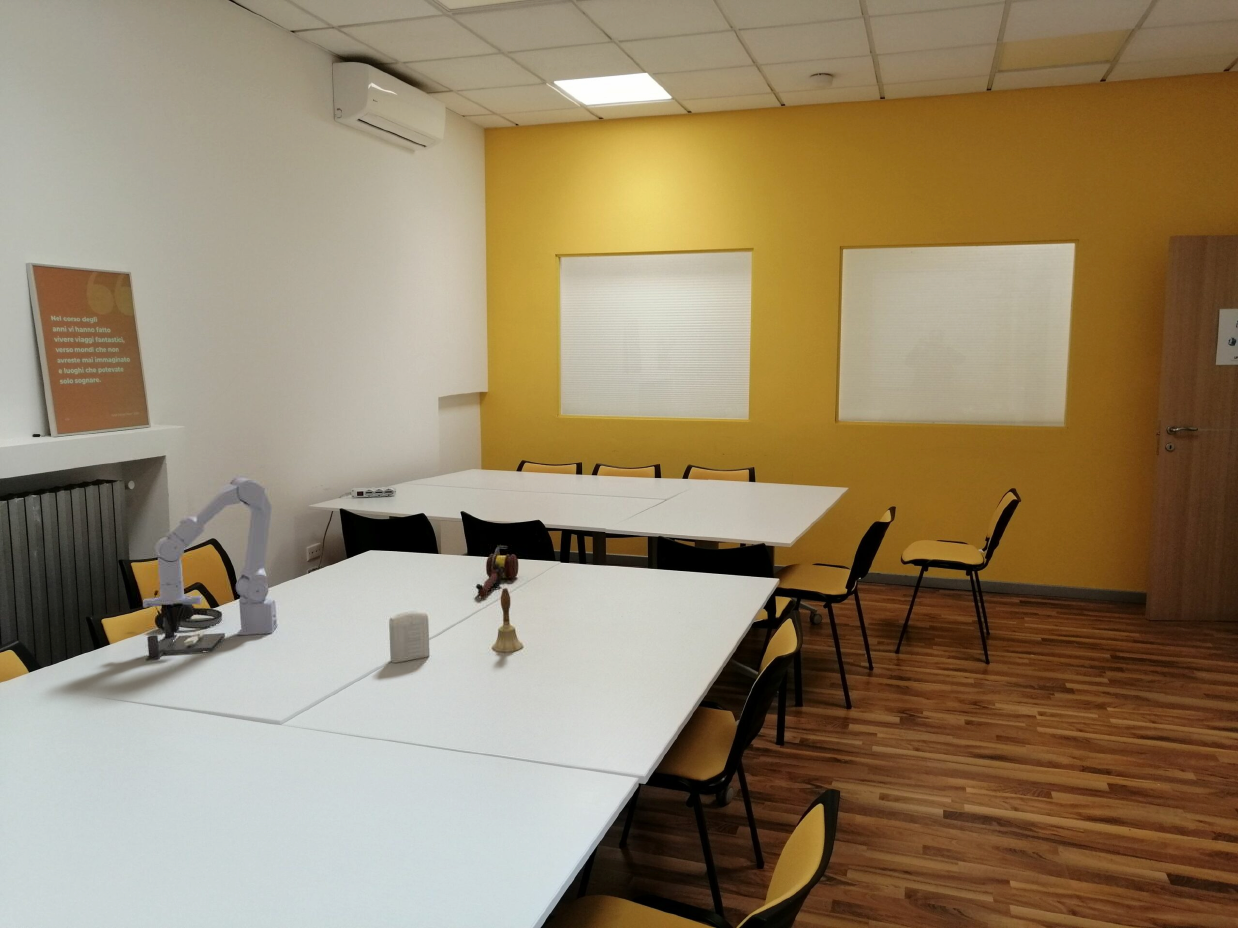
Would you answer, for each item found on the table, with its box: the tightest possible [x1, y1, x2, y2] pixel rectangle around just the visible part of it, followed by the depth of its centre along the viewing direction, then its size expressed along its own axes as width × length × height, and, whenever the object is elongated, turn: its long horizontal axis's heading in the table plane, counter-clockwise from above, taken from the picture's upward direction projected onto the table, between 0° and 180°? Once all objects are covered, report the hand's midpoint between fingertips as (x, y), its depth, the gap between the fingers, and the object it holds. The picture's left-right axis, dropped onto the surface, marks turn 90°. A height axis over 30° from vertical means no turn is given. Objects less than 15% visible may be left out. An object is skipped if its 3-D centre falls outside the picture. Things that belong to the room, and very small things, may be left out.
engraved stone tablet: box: [388, 610, 430, 664], centre depth 237 cm, size 10×4×12 cm, turn 123°
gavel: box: [475, 545, 519, 598], centre depth 310 cm, size 10×34×10 cm
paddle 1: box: [184, 636, 198, 646], centre depth 248 cm, size 2×4×1 cm, turn 9°
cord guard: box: [146, 618, 178, 661], centre depth 250 cm, size 3×21×6 cm, turn 14°
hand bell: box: [491, 587, 524, 653], centre depth 244 cm, size 8×8×16 cm
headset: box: [153, 590, 223, 631], centre depth 272 cm, size 14×10×20 cm
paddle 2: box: [190, 629, 206, 637], centre depth 254 cm, size 2×4×1 cm, turn 9°
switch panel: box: [163, 632, 226, 656], centre depth 251 cm, size 12×13×1 cm
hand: (175, 631), depth 250 cm, fingers closed
